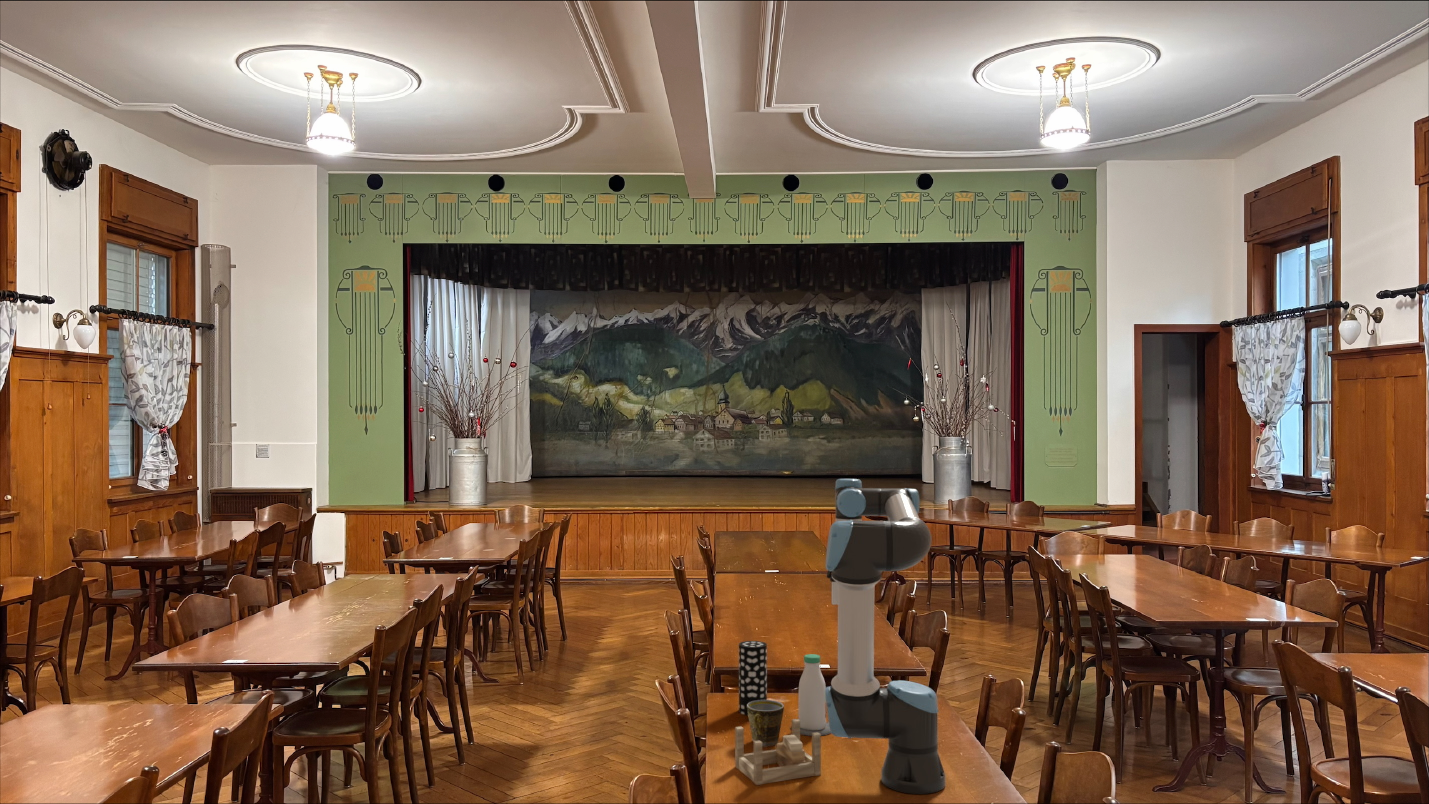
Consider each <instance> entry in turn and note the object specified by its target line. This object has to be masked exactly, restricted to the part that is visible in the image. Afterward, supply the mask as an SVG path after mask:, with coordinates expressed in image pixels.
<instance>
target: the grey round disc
mask: <svg viewBox="0 0 1429 804" xmlns="http://www.w3.org/2000/svg"><path fill="white" fill-rule="evenodd" d="M790 729H791V730H792V725H791V728H790ZM815 732H818V733H820V734H821V737H823V736H827V735H831V734H832V733H831V731H830V727H829V721H828V722H827V721H826V727H825V728H824V729H822V730H815V731H812V730H805V729H802V728H800V736H801V735H802V736H807V737H812V733H815Z"/></svg>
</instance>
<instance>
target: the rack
mask: <svg viewBox="0 0 1429 804" xmlns="http://www.w3.org/2000/svg"><path fill="white" fill-rule="evenodd" d="M791 726H792V729H791V735H795V736H796V737H797V738H798V739H799V740H800V741H801V734H800V720H799V718H793V719H791ZM734 731H735V733H734V735H735V739H734V741H735V746H734V747H735V748H734V751H735V752H734V753H735V754H734V756H735V757H734V758H735V759H734V761H735V762H734V765H735V766H734V767H735V768H736V770H738V771H740V772H741V773H742V774H744V776H746V777H747V778H749V780H750V781H752V783H753V784H755V785H756V786H761V785H764V784H771V783H776V782H777V783H778V782H782V781H789V780H795V779H802V778H808V777H813V776H814V777H816V776H821V775H822V757H821V756H822V754H821V753H822V749H821V747H822V736H821V734H820V733H818V732H815V733H812V736H811V754H808V752H806V751H805V761H806V763H800V764H794V765H787V766H777V767H776V766H775V767H769V768H764V769H763V766H766V765H772V764H778V753H777V748H776V749H770V750H763V746H762V742H761V741H760V740H758V741H754V742H753V752H750V753H749V752H748V753H745V751H744V748H745V746H744V742H745V740H744V739H745V737H744V736H745V735H744V734H745V733H744V727H742V726H741V725H740V726H735V727H734Z"/></svg>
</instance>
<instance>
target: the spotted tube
mask: <svg viewBox="0 0 1429 804" xmlns="http://www.w3.org/2000/svg"><path fill="white" fill-rule="evenodd" d="M767 647H768V645H767V643H766V642H764V641H761V640H760V641H759V640H758V641H757V640H747V641H746V640H745V641H741V642H739V643H738V712H739V713H740V714H741V715H746V716H748V711H747V704H748V703H750V702H752V701H757V700H768V692H767V691H768V668H767V667H768V663H767V662H768V659H767V658H768V651H767V650H768V649H767Z"/></svg>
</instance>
